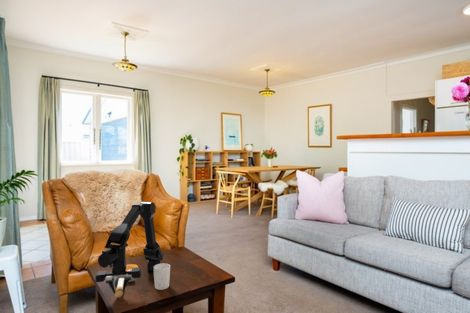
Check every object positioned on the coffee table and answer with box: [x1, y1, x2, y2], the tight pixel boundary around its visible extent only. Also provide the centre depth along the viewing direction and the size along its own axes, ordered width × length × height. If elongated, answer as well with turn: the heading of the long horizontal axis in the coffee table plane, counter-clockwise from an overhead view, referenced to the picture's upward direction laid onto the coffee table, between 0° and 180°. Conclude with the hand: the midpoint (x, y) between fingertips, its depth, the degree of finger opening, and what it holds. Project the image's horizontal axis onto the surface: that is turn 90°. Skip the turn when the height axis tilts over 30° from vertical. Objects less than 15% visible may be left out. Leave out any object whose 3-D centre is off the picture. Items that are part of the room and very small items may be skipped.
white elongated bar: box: [114, 277, 124, 298], centre depth 141 cm, size 16×3×3 cm, turn 16°
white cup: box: [153, 262, 171, 291], centre depth 146 cm, size 8×8×10 cm
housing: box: [114, 269, 135, 284], centre depth 154 cm, size 11×6×5 cm, turn 106°
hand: (119, 293), depth 135 cm, fingers closed on white elongated bar, 3 cm apart
